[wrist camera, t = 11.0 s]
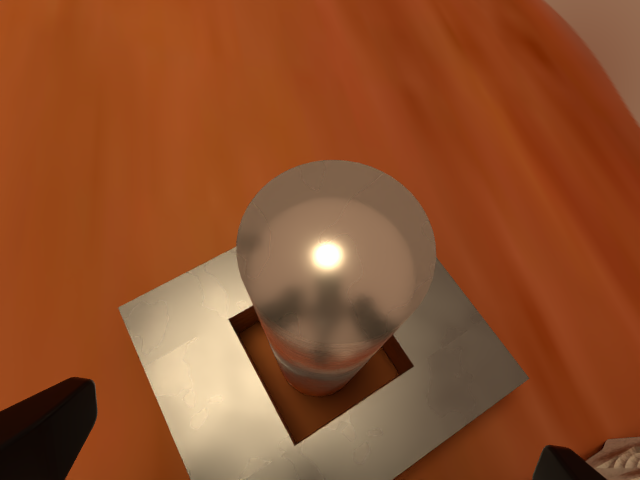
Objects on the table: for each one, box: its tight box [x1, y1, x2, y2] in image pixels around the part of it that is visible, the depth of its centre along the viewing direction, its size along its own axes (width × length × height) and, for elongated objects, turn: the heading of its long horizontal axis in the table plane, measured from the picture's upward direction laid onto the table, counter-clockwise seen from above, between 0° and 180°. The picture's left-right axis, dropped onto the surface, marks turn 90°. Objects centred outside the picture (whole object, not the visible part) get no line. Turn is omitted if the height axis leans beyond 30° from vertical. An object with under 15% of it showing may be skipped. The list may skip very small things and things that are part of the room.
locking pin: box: [236, 160, 436, 397], centre depth 15 cm, size 4×4×14 cm
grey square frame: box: [119, 247, 529, 480], centre depth 20 cm, size 12×14×3 cm
